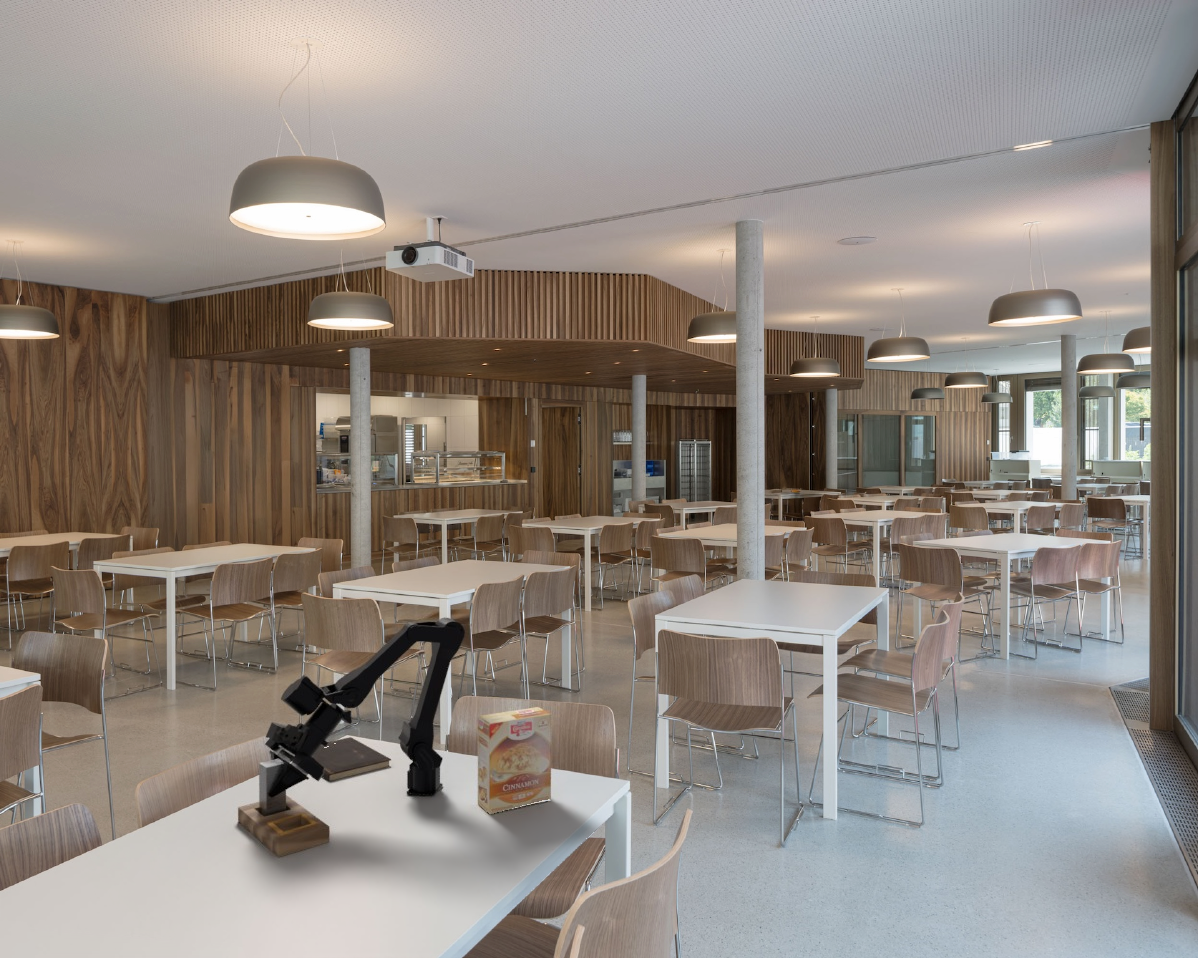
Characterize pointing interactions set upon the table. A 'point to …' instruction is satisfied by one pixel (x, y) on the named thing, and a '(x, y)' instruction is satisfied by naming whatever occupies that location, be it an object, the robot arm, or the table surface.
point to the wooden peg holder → (284, 828)
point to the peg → (267, 779)
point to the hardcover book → (348, 758)
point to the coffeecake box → (514, 759)
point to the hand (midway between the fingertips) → (265, 793)
